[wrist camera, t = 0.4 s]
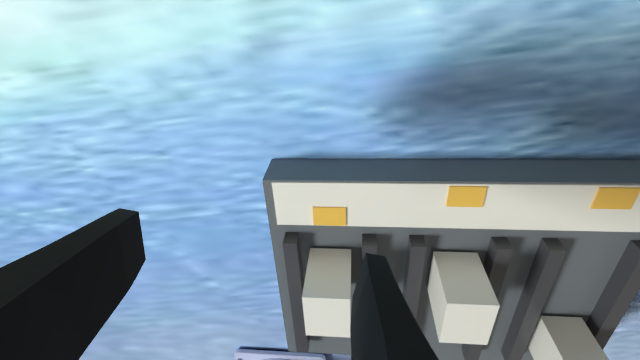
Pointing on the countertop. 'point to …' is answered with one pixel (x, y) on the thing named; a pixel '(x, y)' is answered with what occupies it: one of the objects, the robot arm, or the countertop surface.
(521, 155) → the countertop surface
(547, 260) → the switch panel
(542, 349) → the tab back
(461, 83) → the countertop surface
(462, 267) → the tab middle
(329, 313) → the tab front
